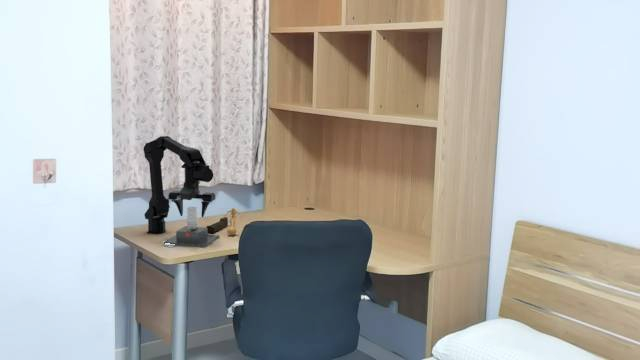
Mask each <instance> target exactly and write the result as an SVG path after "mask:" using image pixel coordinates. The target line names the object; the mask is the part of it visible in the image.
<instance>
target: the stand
mask: <svg viewBox="0 0 640 360" xmlns="http://www.w3.org/2000/svg"><path fill="white" fill-rule="evenodd" d="M175 234H176V235H173V236H172V237H170V238H169V239H167V240H165V241H163V245H164V244H165V243H170V244H175V245H174V246H176V245H177V247H179V246H180V247H181V246H182V247H193V248H194V247H195V248H196V247H197V248H206V247H208V246H210V245H211V244H213V243H214V242H215V241H217V240H218V239H219V238H220V234H219V235H218V234H208V233H207V228H206V226H204V227H203V226H202V227H201V226H197V229H195V230H192V229H187V225H186V226H185V225H184V226H183V227H181V228H180V229H178V230H176V231H175Z"/></svg>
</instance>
